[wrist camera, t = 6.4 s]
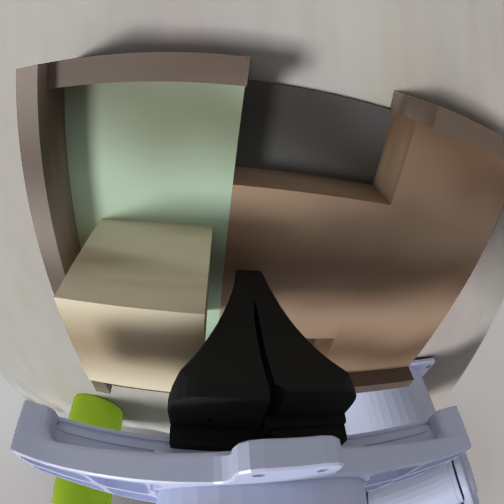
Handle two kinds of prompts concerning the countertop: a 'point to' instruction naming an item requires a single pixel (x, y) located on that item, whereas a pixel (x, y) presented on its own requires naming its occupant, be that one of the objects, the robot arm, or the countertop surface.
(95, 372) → the maple block
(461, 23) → the countertop surface
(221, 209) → the track
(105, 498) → the soap dispenser
